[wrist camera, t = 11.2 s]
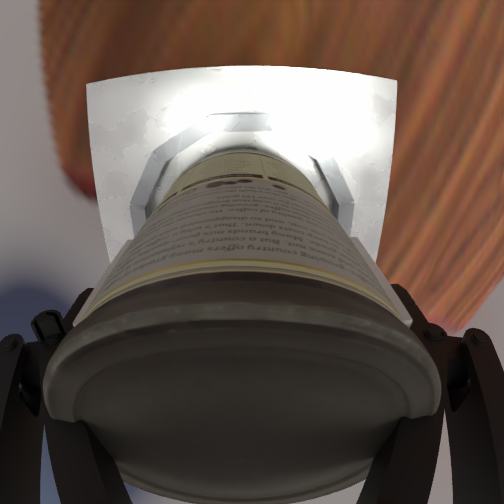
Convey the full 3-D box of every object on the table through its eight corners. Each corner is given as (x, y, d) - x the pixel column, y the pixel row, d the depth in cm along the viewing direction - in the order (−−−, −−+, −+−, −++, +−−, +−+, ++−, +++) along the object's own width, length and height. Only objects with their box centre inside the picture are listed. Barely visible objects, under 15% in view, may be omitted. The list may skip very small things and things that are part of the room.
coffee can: (354, 245, 20) (461, 436, 7) (230, 323, 22) (223, 518, 10) (259, 109, 16) (322, 150, 3) (126, 219, 18) (-2, 405, 6)
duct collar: (92, 84, 17) (75, 84, 14) (390, 80, 17) (407, 80, 15) (131, 324, 26) (124, 343, 24) (356, 321, 26) (364, 340, 24)
